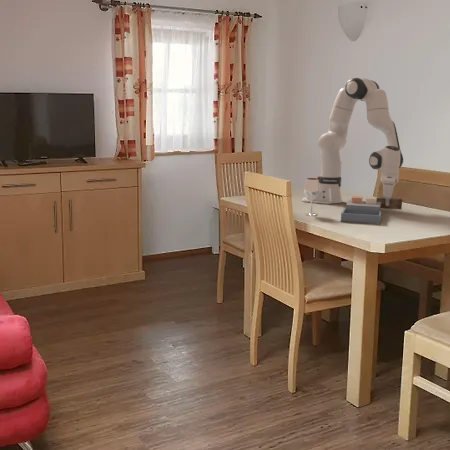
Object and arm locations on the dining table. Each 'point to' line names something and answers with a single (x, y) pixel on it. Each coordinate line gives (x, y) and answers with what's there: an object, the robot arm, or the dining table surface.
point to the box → (361, 216)
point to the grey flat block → (363, 206)
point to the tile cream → (371, 200)
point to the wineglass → (312, 191)
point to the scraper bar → (390, 203)
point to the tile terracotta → (357, 199)
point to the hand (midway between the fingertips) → (387, 204)
